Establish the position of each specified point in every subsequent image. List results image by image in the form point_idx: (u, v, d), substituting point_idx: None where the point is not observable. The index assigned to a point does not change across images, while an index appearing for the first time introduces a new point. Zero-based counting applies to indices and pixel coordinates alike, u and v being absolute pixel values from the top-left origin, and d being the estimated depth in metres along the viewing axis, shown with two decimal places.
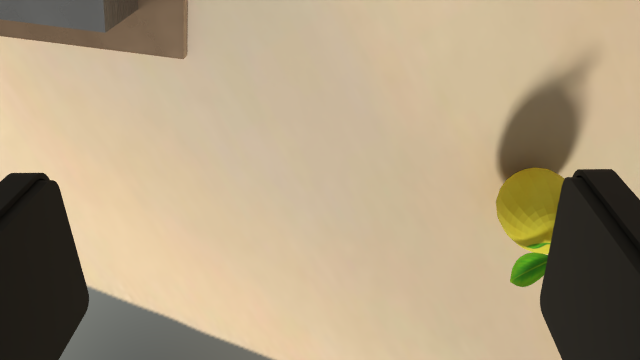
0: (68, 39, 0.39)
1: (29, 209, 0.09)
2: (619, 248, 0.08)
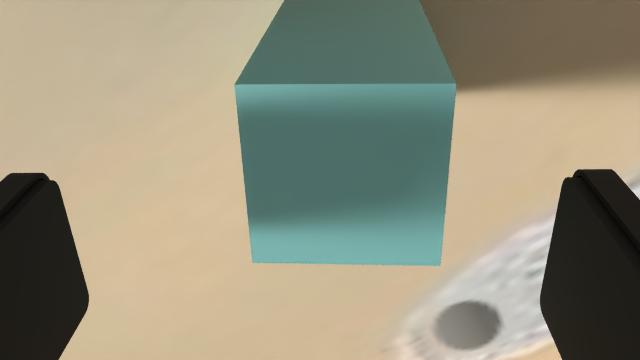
0: None
1: (29, 209, 0.09)
2: (619, 248, 0.08)
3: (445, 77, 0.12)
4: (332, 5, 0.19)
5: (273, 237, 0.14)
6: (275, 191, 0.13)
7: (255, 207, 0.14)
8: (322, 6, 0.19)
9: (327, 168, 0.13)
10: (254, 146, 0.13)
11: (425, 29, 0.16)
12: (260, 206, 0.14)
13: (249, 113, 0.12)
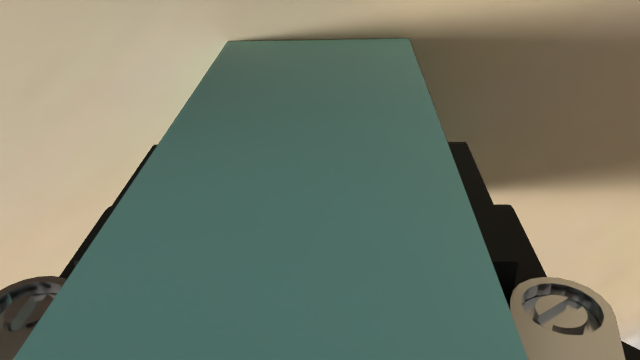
0: None
1: None
2: None
3: None
4: (278, 96, 0.11)
5: None
6: None
7: None
8: (260, 98, 0.11)
9: None
10: None
11: (446, 178, 0.08)
12: None
13: None
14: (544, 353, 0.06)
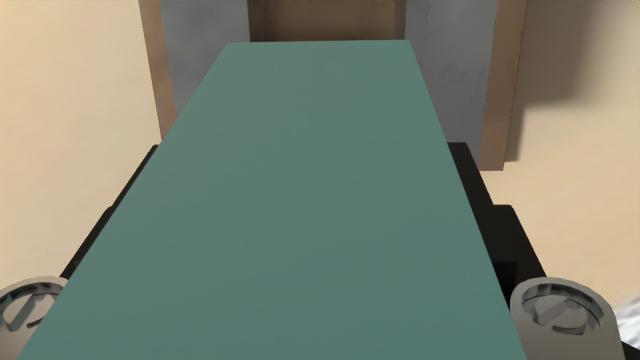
0: (151, 41, 0.31)
1: None
2: None
3: None
4: (277, 97, 0.11)
5: None
6: None
7: None
8: (260, 100, 0.11)
9: None
10: None
11: (447, 180, 0.08)
12: None
13: None
14: (544, 353, 0.06)
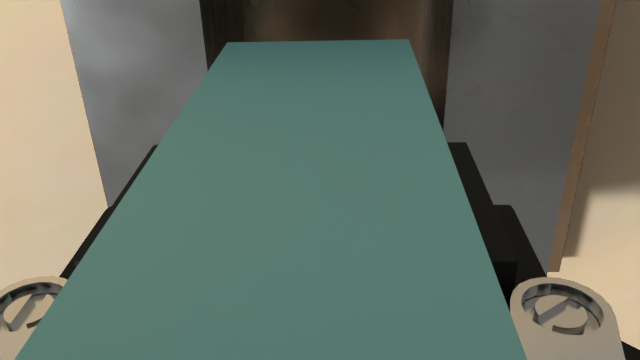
0: None
1: None
2: None
3: None
4: (277, 97, 0.11)
5: None
6: None
7: None
8: (259, 100, 0.11)
9: None
10: None
11: (447, 180, 0.08)
12: None
13: None
14: (544, 353, 0.06)
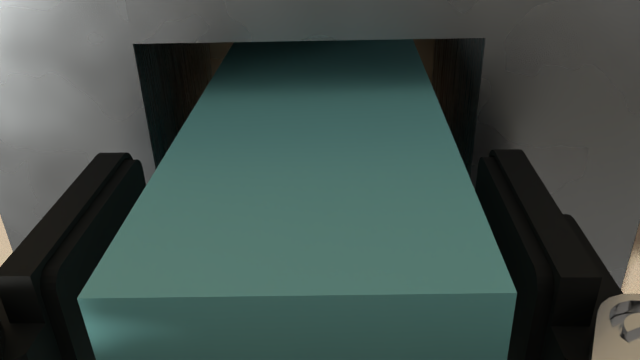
0: None
1: (122, 185, 0.10)
2: (511, 217, 0.09)
3: (491, 270, 0.06)
4: (292, 66, 0.13)
5: None
6: None
7: None
8: (277, 68, 0.13)
9: None
10: None
11: (435, 121, 0.10)
12: None
13: (115, 344, 0.06)
14: None
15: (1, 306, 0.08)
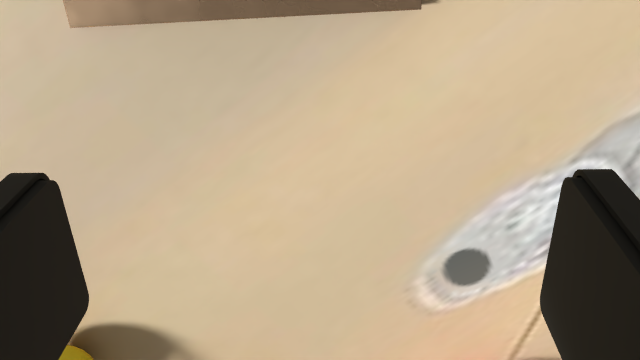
0: None
1: (29, 209, 0.09)
2: (619, 248, 0.08)
3: None
4: None
5: None
6: None
7: None
8: None
9: None
10: None
11: None
12: None
13: None
14: None
15: None
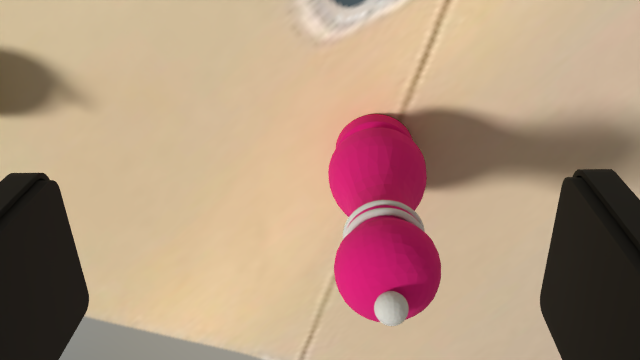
0: None
1: (29, 209, 0.09)
2: (619, 247, 0.08)
3: None
4: None
5: None
6: None
7: None
8: None
9: None
10: None
11: None
12: None
13: None
14: None
15: None
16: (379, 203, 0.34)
